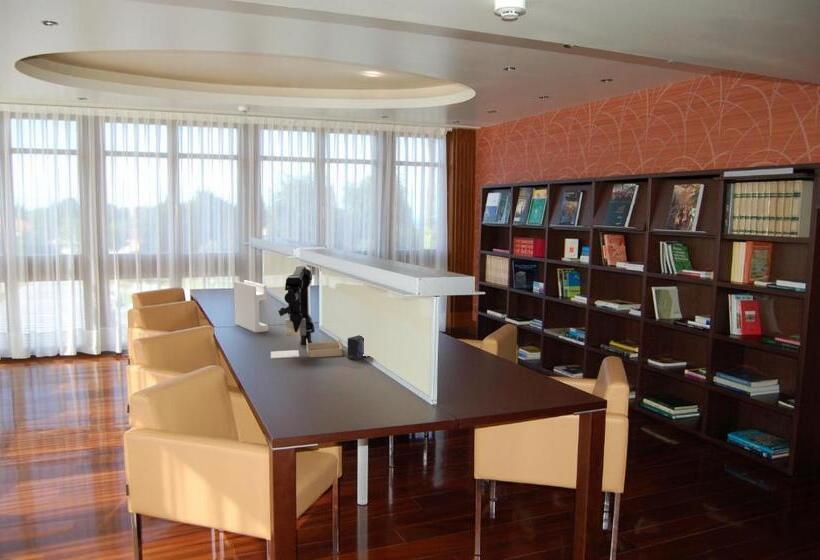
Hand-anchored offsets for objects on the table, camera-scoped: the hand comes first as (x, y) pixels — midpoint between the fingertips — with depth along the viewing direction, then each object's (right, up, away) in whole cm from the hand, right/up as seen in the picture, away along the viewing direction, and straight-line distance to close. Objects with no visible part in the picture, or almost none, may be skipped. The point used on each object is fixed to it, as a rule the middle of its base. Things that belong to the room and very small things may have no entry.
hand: (295, 331), depth 323 cm
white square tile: (-6, -12, 0) cm, 13 cm away
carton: (+14, -12, +5) cm, 19 cm away
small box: (+33, -13, -7) cm, 36 cm away
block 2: (0, -2, 0) cm, 2 cm away
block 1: (-41, -4, +75) cm, 86 cm away
